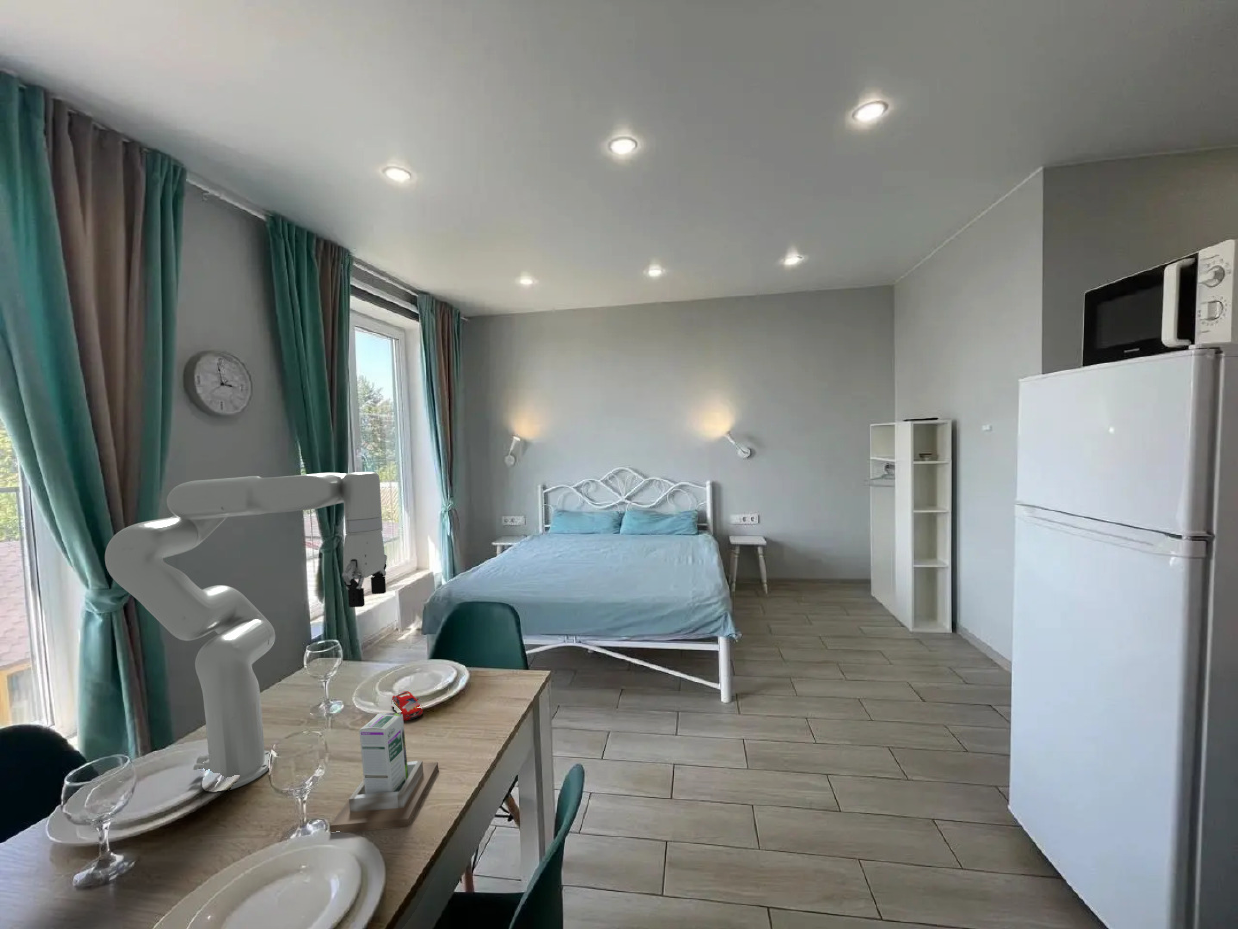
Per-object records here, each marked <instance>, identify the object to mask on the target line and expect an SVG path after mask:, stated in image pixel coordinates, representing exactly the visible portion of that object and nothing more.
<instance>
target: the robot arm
mask: <svg viewBox="0 0 1238 929" xmlns="http://www.w3.org/2000/svg"><path fill="white" fill-rule="evenodd" d="M380 479H381V478H380V476H379V474H378V473H377V472H374V471H360V472H359V471H358V472H357V471H356V472H348V473H340V472H319V473H317V472H316V473H309V474H301V475H300V474H299V475H287V476H275V477H274V476H273V477H270V476H269V477H261V476H259V475H252V476H250V475H249V476H241V477H240V476H239V477H238V476H237V477H228V478H214V479H213V478H212V479H203V480H202V479H199V480H191V481H187V482H183V483H180V484H178V485H177V486H175V487H173V489H172V490H170V491H169V493H168V494H167V498H166V505H167V508H168V510H169V511H170V512H171V514H173V515H172V516H171V517H165V518H164V517H163V518H158V519H152V520H151V519H150V520H147V521H142V522H138V523H135V524H132V525H129V526H127V527H124V528H122V529H121V530H119V531H118V532H116V534H114V535H113V536H112V538H111V539H110V540H109V542H108V544H107V546H106V548H105V553H104V562H105V567H106V569H107V572H108V573H109V575H110V577H111V578H112V579H113V580H114V581H115V583H117V584H118V585H119V586H120V587H121V588H122V589H124V590H125V591H126V592H128V594H130V595H131V596H132V597H133V598H135V599H136V600H137V601H138V602H139V603H140V604H141V605H142V606H143V607H144V608H145V609H146V610H147V611H148V612H149V613H150V614H151V615H152V616H153V617H154V618H155V620H157V621H158V622H159V623H160V624H161V625H162V626H163V627H164V628H165V629H166V630H167V631H168V632H169V633H170V634H171V635H172V636H173V637H175V638H177V640H181V641H185V642H189V641H194V640H197V639H200V638H202V637H204V636H207V635H209V634H210V633H212V632H215V633H216V635H215V636H214V637H212V638H211V639H209V640H208V641H207V642H206V643H205V644H203V645H202V647H200V649H199V650H198V652H197V654H196V657H195V660H194V662H195V663H194V668H195V672H196V675H197V678H198V681H199V684H200V687H201V691H202V697H203V699H202V700H203V708H204V716H205V727H206V739H207V752H208V754H202V755H199V756H198V757H197V759H196V763H195V764H194V765H193V769H192V770H193V771H194V770H197V769H203V768H204V769H205V771H206V770H208V769H210V771H212V772H213V773H220V774H221V775H222V776H224V777H226V778H227V777H232V776H234V775H240V779H238V780H237V782H236V783H234V784H233V786H232V787H231V789H230V790H235V789H237V788H239V787H243V786H245V785H248V784H249V783H251V782H253V781H255V780H256V779H258V778H260V777H261V776H262V775H264V774H266V772H267V771H269V770H268V760H269V754H270V752H271V751H269V750H265V749H266V748H265V738H264V726H263V715H262V714H263V713H262V703H261V702H262V700H261V692H260V691H261V690H260V684H259V681H258V679H257V677H256V674H255V672H254V670H253V664H254V663H255V662H256V661H258V660H259V659H260V658H261V657H263V656H265V654H266V653H267V652H270V650H271V648H272V647H273V645H274V643H275V641H276V632H275V631H276V630H275V628H274V627H273V625H272V623H271V622H270V621H269V620H268V619H267V617H265V615H264V614H263V613H261V611H260V610H259V609H258V608H257V607H256V605H254V604H253V603H252V602H251V601H250V600H249V599H248V598H247V597H246V595H244V594H243V593H242V592H241V591H239V590H238V589H236V588H235V587H231V586H229V585H224V584H223V585H222V584H221V585H220V584H219V585H218V584H217V585H212V586H208V587H205V588H203V589H202V588H201V587H199V586H198V585H196V583H195V582H194V581H193V580H191V579H190V578H189V576H187V574H185V573H184V572H183V571H182V570H180V569H178V568H177V567H174V566H172V565H170V564H168V563H166V562H165V561H164V559H166V558H169V557H173V556H176V555H180V554H183V553H186V552H189V551H191V550H193V549H195V548H196V547H198V546H199V545H200V544H201V543H203V541H205V540H206V539H207V538H209V536H210V535H211V534H212V533H213V532H214V531H215V530H216V529H217V528H218V527H219V526H220V525H221V524H222V523H223V522H224V521H225V520H226V519H227V518H231V517H243V516H245V517H246V516H256V515H264V514H273V513H276V514H277V513H287V512H298V511H309V510H317V509H322V508H325V507H331V506H333V505H337V504H343V510H344V512H343V513H344V527H345V528H344V530H345V535H344V541H343V542H344V543H343V554H342V555H343V556H342V557H343V559H342V560H343V566H342V567H343V572H341V573H342V574H341V577H342V578H343V582H344V585H345V586H346V587H345V588H346V590H347V594H348V595H347V597H348V598H347V599H348V600H347V601H348V607H349V608H362V607H364V606H365V591H364V590H365V588H364V587H363V584H364V580H365V578H369V577H370V576H371V577H370V587H371V594H372V595H377V594H378V595H380V594H383V595H384V594H386V592H387V585H386V575H387V571H386V569H387V559H388V556H387V555H386V554H385V546H384V545H385V544H384V539H383V538H384V537H383V533H382V532H383V515H382V498H381V497H382V496H381V480H380ZM356 580H357V581H356ZM203 762H204V763H203ZM205 771H204V772H205ZM230 790H229V791H230Z"/></svg>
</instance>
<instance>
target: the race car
mask: <svg viewBox="0 0 1238 929" xmlns="http://www.w3.org/2000/svg"><path fill="white" fill-rule="evenodd" d="M399 693H400V694H399ZM419 699H420V698H419V697H418V698H417V697H415V696H414V695H413V694H412V693H411V692H410V691H409V690H403V691H401V692H398V694H397V693H395V694H393V695H392V697H391V701H392V700H393V702H394V704H395V705H396V706H397V707H398V708H399V709H400V710H401V711H402V712H401V713H400V714H403V722H405V721H411V720H414V719H416V718H419V717H420V716H422V715H423V711H424V708H423V709H421V708H417V707H419V706H420V705H421V703H420V702H419Z"/></svg>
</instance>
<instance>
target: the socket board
mask: <svg viewBox="0 0 1238 929" xmlns="http://www.w3.org/2000/svg"><path fill="white" fill-rule="evenodd" d="M407 767H408V778H407V780H406V781H405V783H404V785H403V786H402V788H401V790H400V791H399V792H386V793H374V794H365V786H364V778H363V779H362V780H361V782H360V783H359V784H358V786H357V787H356V789H355V790H354V791H353V793H352V794H351V795H350V797H349V798H348V800H347V801H346V803H345V804H344V805H343V807H342V808H341V809H340V811H339V812H338V813H337V815H336V817H334V819H333V820H332V822H331V823H330V826H329V832H330V833H331V832H336V831H340V832H342V833H350V832H363V831H375V830H376V831H377V830H387V829H388V830H390V829H398V828H399V829H401V828H409V827H410V825H411V822H412V821H413V819H414V817H415V815H416V813H417V811H418V810H419V807H420V806H421V804H422V801H424V800H423V799H424V798H425V796H426V794H427V792H428V790H429V788H430V786H431V784H432V782H433V780H434V779H435V777H436V775H437V772H438V771H439V762H436V761H435V762H427V763H424V762H423V760H414V761H413V760H412V761H407Z"/></svg>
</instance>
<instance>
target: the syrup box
mask: <svg viewBox="0 0 1238 929" xmlns="http://www.w3.org/2000/svg"><path fill="white" fill-rule="evenodd" d="M404 726H405V724H404V721H403V714H400V713H396V712H381V713H379V712H378V713H377V714H376V715H375V716H374V717H373V718H372V719H371V720H369V721H368V722H367V723H366V724H365V725H363V726H362V727H361V728H359V730H358V731H359V742H360V753H361V754H360V755H361V762H362V763H361V764H362V772H363V774H362V775H363V779H364V786H365V794H374V793H386V792H399V791H400V790H401V788H402V786H403V785H404V783H405V781H406V780H407V778H408V767H407V762H408V761H407V760H408V758H407V748H406V747H407V746H406V736H405V727H404Z"/></svg>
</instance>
